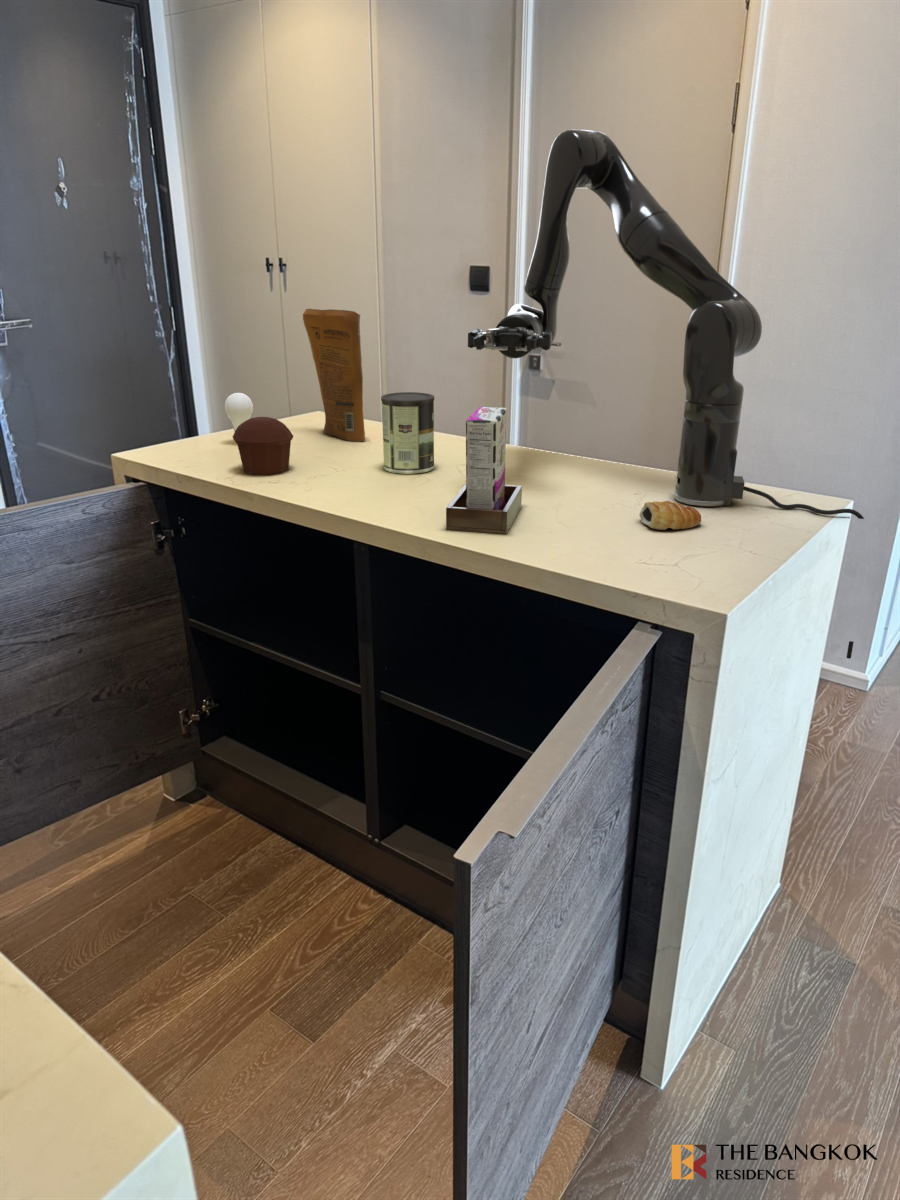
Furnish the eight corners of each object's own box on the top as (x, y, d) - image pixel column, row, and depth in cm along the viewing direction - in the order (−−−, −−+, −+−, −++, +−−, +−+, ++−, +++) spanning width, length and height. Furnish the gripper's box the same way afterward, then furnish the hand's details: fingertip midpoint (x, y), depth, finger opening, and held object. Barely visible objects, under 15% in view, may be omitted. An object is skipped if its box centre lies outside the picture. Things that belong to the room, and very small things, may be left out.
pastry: (689, 517, 142) (692, 494, 140) (708, 530, 136) (711, 506, 134) (635, 520, 140) (637, 497, 139) (652, 533, 134) (654, 509, 132)
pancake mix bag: (352, 445, 190) (346, 312, 179) (306, 431, 203) (299, 306, 193) (377, 441, 194) (373, 310, 183) (331, 427, 207) (324, 305, 197)
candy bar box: (476, 503, 147) (477, 405, 140) (505, 505, 146) (508, 407, 139) (463, 522, 136) (464, 418, 130) (494, 524, 136) (497, 420, 129)
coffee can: (424, 460, 178) (423, 390, 172) (442, 471, 169) (442, 398, 163) (376, 464, 174) (374, 393, 169) (392, 476, 165) (390, 402, 160)
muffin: (306, 465, 173) (303, 415, 169) (276, 479, 163) (272, 426, 159) (255, 460, 177) (251, 411, 173) (223, 473, 167) (218, 421, 163)
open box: (521, 506, 147) (522, 485, 146) (506, 534, 133) (507, 511, 132) (466, 502, 149) (466, 482, 148) (445, 529, 135) (446, 507, 134)
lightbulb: (261, 442, 193) (257, 392, 188) (242, 447, 188) (237, 396, 184) (242, 438, 196) (237, 389, 191) (222, 443, 191) (217, 393, 187)
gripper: (480, 312, 158) (461, 319, 143) (558, 313, 155) (547, 321, 140) (479, 354, 161) (461, 365, 146) (556, 356, 158) (545, 368, 143)
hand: (503, 344), depth 143 cm, fingers open, 8 cm apart
